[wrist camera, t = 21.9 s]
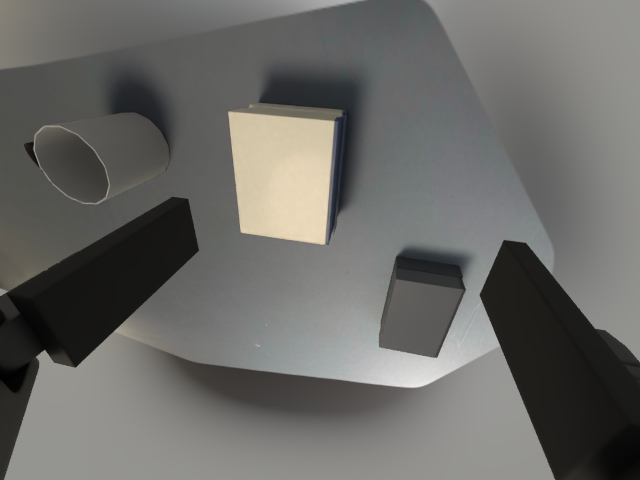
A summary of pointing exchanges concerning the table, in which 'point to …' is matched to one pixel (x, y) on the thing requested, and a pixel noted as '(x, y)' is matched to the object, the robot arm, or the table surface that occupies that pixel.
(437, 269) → the grey stack
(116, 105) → the table surface
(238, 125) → the cream book
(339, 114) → the cream stack
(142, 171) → the cup
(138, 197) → the table surface
